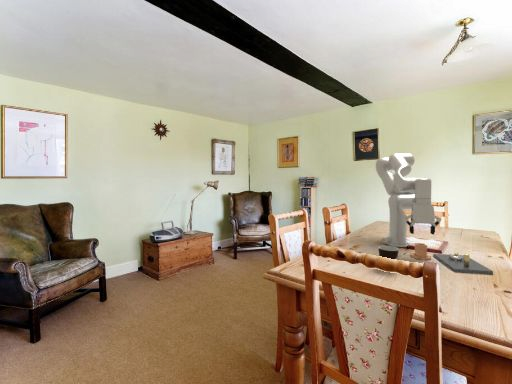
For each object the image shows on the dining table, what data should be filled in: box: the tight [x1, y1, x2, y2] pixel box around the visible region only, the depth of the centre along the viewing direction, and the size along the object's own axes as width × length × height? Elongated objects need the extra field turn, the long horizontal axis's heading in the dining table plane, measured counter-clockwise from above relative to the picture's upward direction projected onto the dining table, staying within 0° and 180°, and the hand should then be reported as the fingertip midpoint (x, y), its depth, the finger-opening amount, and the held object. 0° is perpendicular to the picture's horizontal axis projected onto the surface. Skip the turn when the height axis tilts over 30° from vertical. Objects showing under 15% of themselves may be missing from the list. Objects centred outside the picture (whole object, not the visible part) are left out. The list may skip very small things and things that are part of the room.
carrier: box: [432, 252, 494, 276], centre depth 131 cm, size 15×23×7 cm, turn 167°
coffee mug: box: [377, 245, 400, 260], centre depth 127 cm, size 12×9×10 cm
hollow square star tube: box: [409, 242, 432, 261], centre depth 143 cm, size 10×10×7 cm
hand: (422, 233), depth 142 cm, fingers open, 9 cm apart
